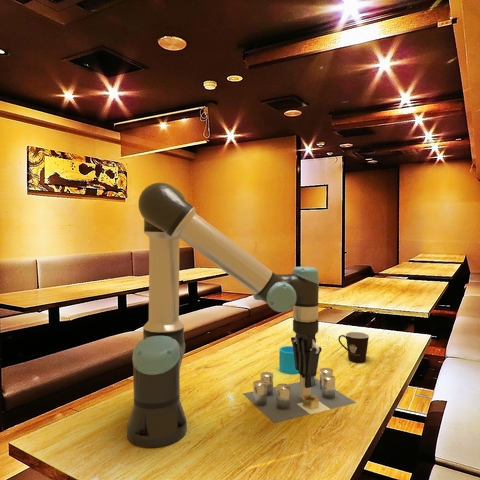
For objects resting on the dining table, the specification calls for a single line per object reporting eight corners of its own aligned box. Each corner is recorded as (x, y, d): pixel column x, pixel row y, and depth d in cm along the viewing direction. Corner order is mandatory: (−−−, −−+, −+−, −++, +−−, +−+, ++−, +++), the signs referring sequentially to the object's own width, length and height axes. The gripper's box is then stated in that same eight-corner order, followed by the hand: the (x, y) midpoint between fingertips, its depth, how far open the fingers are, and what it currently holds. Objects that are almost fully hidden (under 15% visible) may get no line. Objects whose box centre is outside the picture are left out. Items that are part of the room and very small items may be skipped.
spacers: (265, 414, 109) (265, 393, 109) (243, 394, 122) (243, 375, 122) (345, 395, 121) (345, 376, 121) (318, 379, 134) (318, 362, 133)
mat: (274, 425, 105) (274, 422, 105) (242, 395, 123) (242, 393, 123) (356, 404, 116) (356, 402, 116) (316, 380, 135) (316, 378, 135)
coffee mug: (373, 362, 152) (373, 336, 151) (355, 365, 148) (355, 339, 148) (354, 353, 162) (354, 329, 162) (336, 355, 159) (336, 331, 159)
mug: (290, 378, 137) (290, 354, 136) (274, 371, 143) (274, 349, 143) (313, 369, 144) (313, 347, 144) (297, 363, 151) (297, 342, 150)
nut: (307, 410, 112) (307, 403, 112) (299, 403, 116) (299, 397, 116) (322, 406, 114) (322, 399, 114) (313, 400, 118) (313, 393, 118)
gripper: (329, 322, 112) (329, 403, 113) (304, 313, 124) (303, 386, 125) (307, 325, 109) (307, 408, 110) (283, 315, 121) (283, 390, 122)
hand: (305, 396), depth 118 cm, fingers closed
